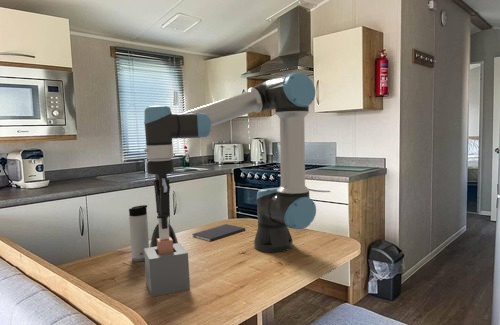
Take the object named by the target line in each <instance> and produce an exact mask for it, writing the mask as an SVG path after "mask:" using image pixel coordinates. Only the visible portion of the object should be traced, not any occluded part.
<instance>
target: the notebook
mask: <svg viewBox="0 0 500 325" xmlns="http://www.w3.org/2000/svg"><path fill="white" fill-rule="evenodd" d="M245 231H246V227H241V226H237V225H232V224H227V223H226V224H222V225H218V226H216V227H211V228H208V229H205V230H202V231H198V232H195V233H192V237H193V238H197V239H201V240H203V241H208V242H213V241H217V240H219V239H223V238H225V237H229V236H232V235H235V234H238V233H242V232H245Z"/></svg>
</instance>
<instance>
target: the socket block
mask: <svg viewBox="0 0 500 325" xmlns="http://www.w3.org/2000/svg"><path fill="white" fill-rule="evenodd" d="M144 255H145V261H144V267H145V282H146V286H147V289H148V292H149V294H150V296H151V298H154V297H159V295H160V296H164V294H165V295H169V294H174V293H179V292H184V291H189V290H190V289H191V287H190V286H191V284H190V281H191V280H190V266H189V252H188V251H187V250H186V249H185V248H184V246H183V245H182V243H180V242H178V243H176V244H173V252H172V253H166V254H160V255H158V251H157V247H150V246H149V248H144Z"/></svg>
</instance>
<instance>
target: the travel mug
mask: <svg viewBox="0 0 500 325" xmlns="http://www.w3.org/2000/svg"><path fill="white" fill-rule="evenodd" d="M147 208H148V204H144V205H138V206H137V205H136V206H133V207H131V208H129V209H128V213H129V215H128V216H129V218H128V219H129V220H128V221H129V232H130V234H129V235H130V248H131V249H130V250H131V260H132V261H133V262H145V255H144V248H150V241H149V240H150V239H149V228H148V212H147V211H148V209H147Z"/></svg>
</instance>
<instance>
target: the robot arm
mask: <svg viewBox="0 0 500 325" xmlns="http://www.w3.org/2000/svg"><path fill="white" fill-rule="evenodd" d="M315 98H316V87H315V84H314V82H313V80H312V79H311V78H310V77H309V76H308V75H307V74H305V73H302V72H291V73H287V74H284V75H280V76H276V77H272V78H270V79H268V80H266V81H264V82H262V83H259V84H257V85H254V86H253V87H252V86H251V87H249V88H248V89H247V91H244V92H242V93H240V94H237V95H233V96H230V97H228V98H227V97H226V98H223V99H220V100H217V101H215V102H212V103H209V104H206V105H202V106H200V107H195V108H194V109H193V108H192V109H190V110H187V111H184V112H180V113H178V112H177V113H175V112H172V111H171V110H172V109H171V107H170V106H167V105H154V106H153V105H152V106H147V107H146V108H145V109H144V122H143V125H144V130H145V132H144V133H145V134H144V135H145V146H146V147H145V149H144V151H143V152H144V153H146V159H147V160H148V161H147V162H146V168H147V169H146V170H147V171H146V172H147V174H149V175H155V179H153V181H152V182H153V186H154V195H155V207H156V208H155V209H156V214H157V215H156V219H157V221H158V223H159V239H160V240H163V239H169V224H170V223H169V217H170V215H171V214H170V213H171V212H170V210H171V209H170V189H171V185H170V179H168V176H167V175H168V174H171V173H173V172H174V160H173V158H174V147H173V146H174V145H173V140H174V139H176V140H177V139H196V138H197V139H201V138H207V137H208V136H209V135H210V134H211V131H212V127H213V126H217V125H219V124H222V123H225V122H228V121H230V120H234V119H237V118H240V117H243V116H244V115H248V114H251V113H253V112H254V113H256V114H258V113H262V112H264V111H272V110H274V112H275V115H276V116H277V117H278V118H279V142H280V143H279V144H280V145H279V152H280V157H279V159H280V161H279V162H280V164H279V165H280V186H279V187H270V188H262V189H258V191H256V192H257V193H256V208H257V212H256V213H257V229H256V233H255V236H254V241H253V244H254V245H253V247H254V249H255V250H258V251H261V252H266V253H279V252H285V251H288V250H290V249H292V248H293V247H294V244H293V242H294V240H293V237H292V234H291V233H290V229H292V230H293V229H294V230H303V229H306V228H307V227H309V226H310V225H311V224H312V222H314V219H315V217H316V213H317V206H316V203H315V202H314V200H313V199H312V198H310V189H309V187H307V185H306V172H305V171H306V160H305V152H306V151H305V150H306V149H305V140H306V139H305V134H306V133H305V117H306V116H307V115H308V114H309V113H310V111H309V106H311V105H312V103H313V101H314V100H315ZM158 223H157V224H158Z"/></svg>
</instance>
